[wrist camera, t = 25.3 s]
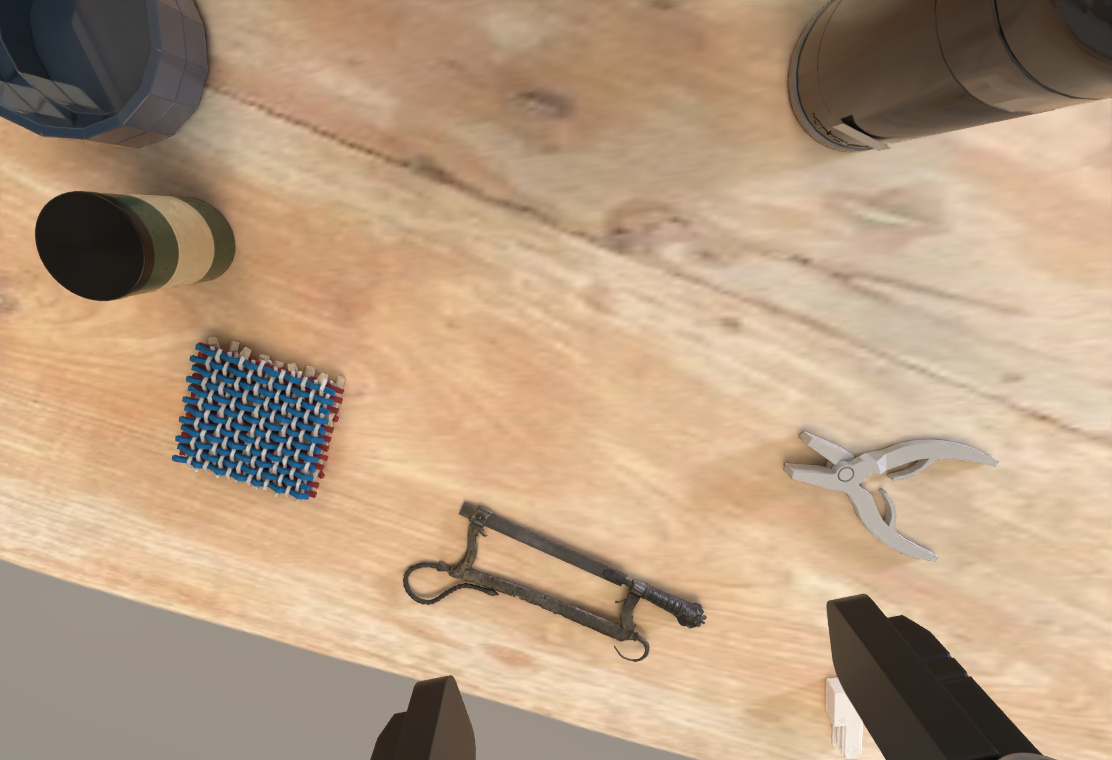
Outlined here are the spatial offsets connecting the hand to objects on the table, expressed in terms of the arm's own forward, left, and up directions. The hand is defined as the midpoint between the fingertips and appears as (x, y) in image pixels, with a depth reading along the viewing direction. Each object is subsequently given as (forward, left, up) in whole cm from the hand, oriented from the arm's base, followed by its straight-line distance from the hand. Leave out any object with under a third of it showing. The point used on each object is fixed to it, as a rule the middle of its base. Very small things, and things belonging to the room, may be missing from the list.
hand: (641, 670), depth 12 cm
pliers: (-1, +26, -30) cm, 40 cm away
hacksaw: (+20, +8, -30) cm, 37 cm away
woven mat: (+15, -18, -30) cm, 39 cm away
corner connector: (+18, +39, -30) cm, 53 cm away
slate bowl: (-4, -35, -30) cm, 46 cm away
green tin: (+5, -27, -30) cm, 41 cm away
